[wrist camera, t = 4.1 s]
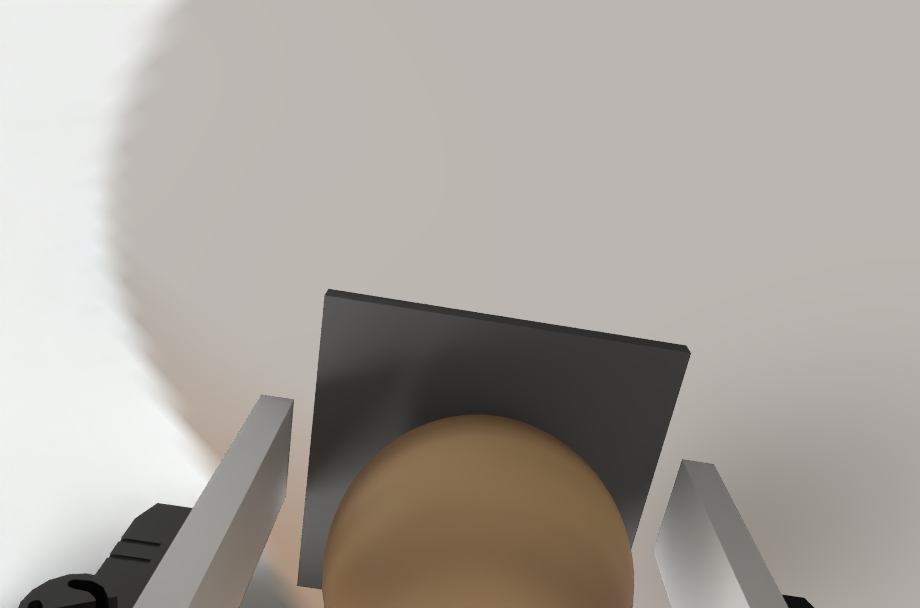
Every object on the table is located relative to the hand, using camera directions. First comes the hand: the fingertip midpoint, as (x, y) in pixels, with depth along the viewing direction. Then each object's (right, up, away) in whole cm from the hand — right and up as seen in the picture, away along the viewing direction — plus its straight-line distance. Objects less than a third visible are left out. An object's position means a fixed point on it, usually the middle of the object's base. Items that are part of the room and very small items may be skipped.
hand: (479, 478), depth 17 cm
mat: (0, 0, 0) cm, 0 cm away
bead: (0, 0, 0) cm, 0 cm away
